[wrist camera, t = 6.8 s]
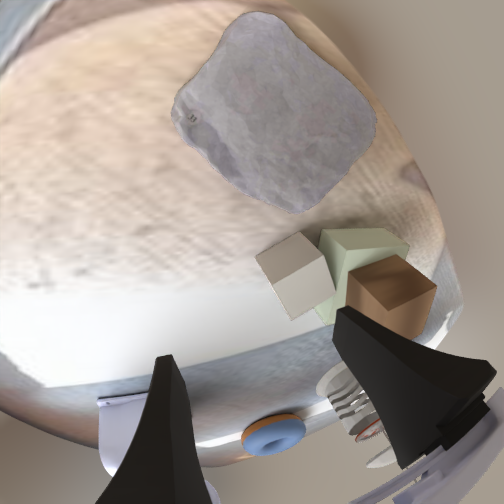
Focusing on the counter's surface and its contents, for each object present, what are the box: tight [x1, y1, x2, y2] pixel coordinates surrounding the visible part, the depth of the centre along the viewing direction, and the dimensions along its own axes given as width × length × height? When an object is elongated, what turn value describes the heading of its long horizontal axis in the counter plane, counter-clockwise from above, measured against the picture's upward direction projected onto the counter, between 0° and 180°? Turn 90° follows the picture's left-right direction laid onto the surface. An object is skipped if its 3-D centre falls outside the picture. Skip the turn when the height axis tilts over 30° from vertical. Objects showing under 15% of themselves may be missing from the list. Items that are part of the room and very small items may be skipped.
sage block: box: [314, 228, 410, 326], centre depth 23 cm, size 7×7×4 cm
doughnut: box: [241, 414, 306, 456], centre depth 35 cm, size 10×10×5 cm
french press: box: [316, 361, 417, 483], centre depth 24 cm, size 10×12×25 cm
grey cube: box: [255, 231, 337, 321], centre depth 21 cm, size 4×4×4 cm
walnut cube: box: [345, 254, 437, 340], centre depth 20 cm, size 5×5×5 cm
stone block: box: [171, 11, 377, 214], centre depth 16 cm, size 12×5×10 cm
